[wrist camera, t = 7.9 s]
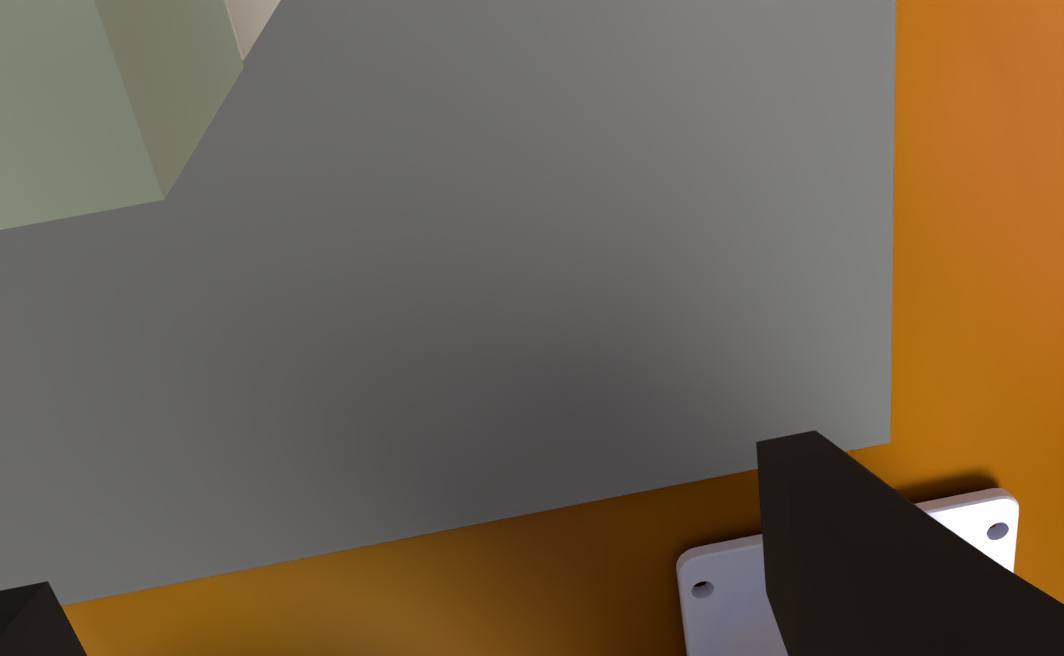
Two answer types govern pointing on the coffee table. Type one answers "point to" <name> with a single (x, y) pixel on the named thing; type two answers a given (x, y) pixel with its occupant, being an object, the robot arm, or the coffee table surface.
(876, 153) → the mat
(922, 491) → the coffee table surface
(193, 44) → the sage brick
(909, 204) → the coffee table surface
